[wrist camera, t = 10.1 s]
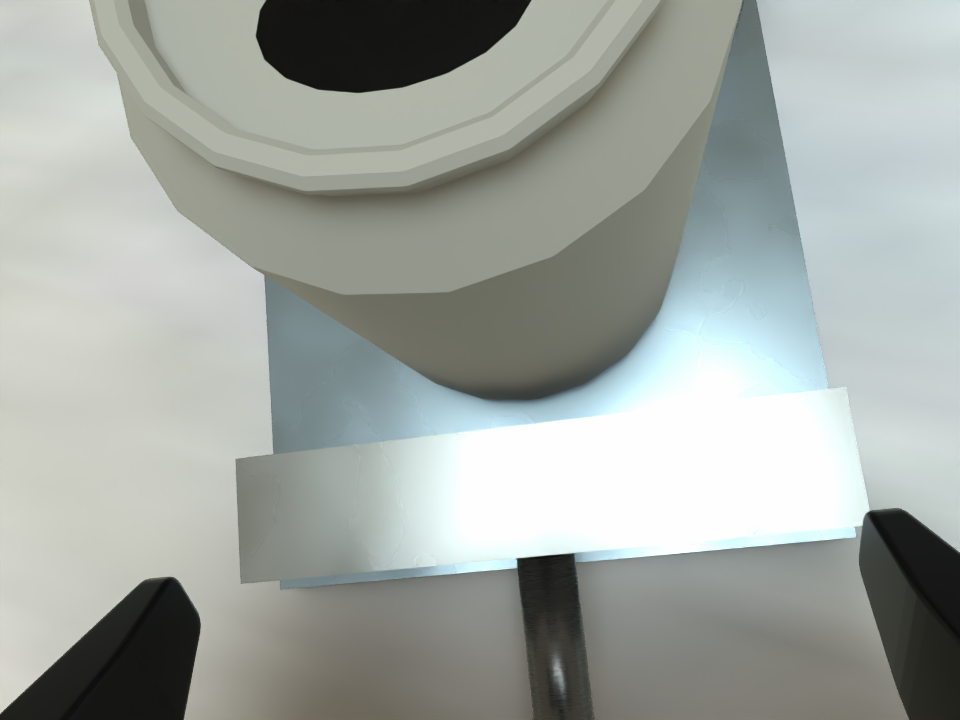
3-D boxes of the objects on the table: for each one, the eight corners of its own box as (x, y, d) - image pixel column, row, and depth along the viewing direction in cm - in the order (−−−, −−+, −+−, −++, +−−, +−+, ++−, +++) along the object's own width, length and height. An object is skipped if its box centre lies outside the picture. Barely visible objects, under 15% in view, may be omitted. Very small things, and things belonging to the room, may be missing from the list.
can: (385, 428, 19) (15, 316, 7) (353, 142, 20) (0, -336, 9) (702, 378, 18) (866, 152, 6) (644, 79, 19) (687, -558, 8)
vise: (908, 892, 16) (1117, 1175, 10) (314, 909, 18) (135, 1152, 11) (734, -57, 21) (792, -331, 14) (267, 37, 22) (116, -162, 16)
